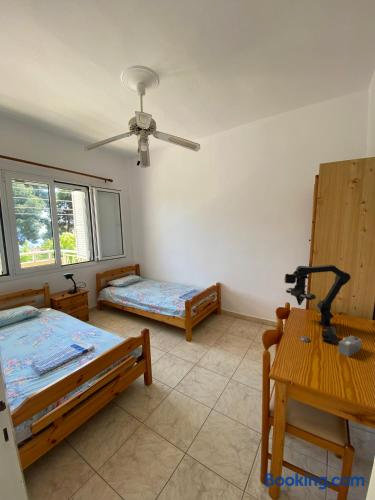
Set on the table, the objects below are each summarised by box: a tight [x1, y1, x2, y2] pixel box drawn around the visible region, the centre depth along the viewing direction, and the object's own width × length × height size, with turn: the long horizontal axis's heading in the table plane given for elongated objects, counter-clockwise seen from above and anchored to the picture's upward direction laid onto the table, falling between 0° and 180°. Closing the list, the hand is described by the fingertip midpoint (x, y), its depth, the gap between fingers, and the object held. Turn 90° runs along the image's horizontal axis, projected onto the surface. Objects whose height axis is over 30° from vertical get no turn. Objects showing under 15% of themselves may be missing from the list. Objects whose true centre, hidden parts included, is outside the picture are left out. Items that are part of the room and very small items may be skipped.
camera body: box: [337, 335, 362, 358], centre depth 114 cm, size 13×6×7 cm, turn 118°
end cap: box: [321, 325, 339, 345], centre depth 124 cm, size 10×7×7 cm
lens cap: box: [299, 335, 311, 343], centre depth 125 cm, size 5×5×1 cm
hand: (299, 305), depth 147 cm, fingers closed
